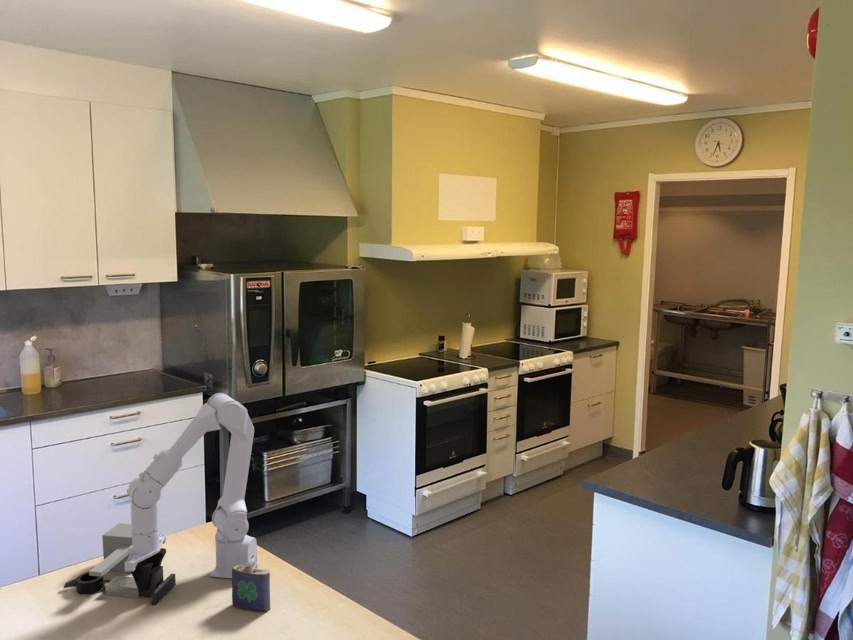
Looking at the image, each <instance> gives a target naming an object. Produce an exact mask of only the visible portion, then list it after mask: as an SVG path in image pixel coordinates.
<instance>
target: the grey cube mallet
mask: <svg viewBox="0 0 853 640" xmlns="http://www.w3.org/2000/svg"><path fill="white" fill-rule="evenodd" d="M101 538H102V552H103V553H102V555H103V560H101V561H100V562H99V563H97V565H95V566H93V568H91V569H90V570H89V571H88V572H89V576H101V577H102V576H103V575H106V574H107V573H108V572H109V571H111V572H113V571H114V572H122V571H125V562H126V561H127V559H128V557H129V555H130V553H131V552H130V551H128V548H129V547H130V546H132V527H131V523H117V524H116V525H115V526H112V527H111V528H110V529H109V530H107V531H106V532H105V533H103V534H102V537H101ZM127 573H130V571H127Z"/></svg>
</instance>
